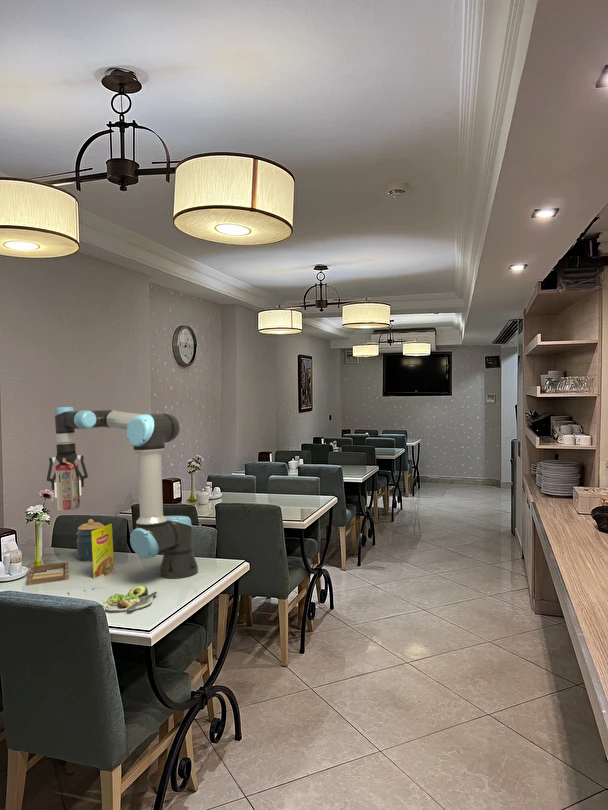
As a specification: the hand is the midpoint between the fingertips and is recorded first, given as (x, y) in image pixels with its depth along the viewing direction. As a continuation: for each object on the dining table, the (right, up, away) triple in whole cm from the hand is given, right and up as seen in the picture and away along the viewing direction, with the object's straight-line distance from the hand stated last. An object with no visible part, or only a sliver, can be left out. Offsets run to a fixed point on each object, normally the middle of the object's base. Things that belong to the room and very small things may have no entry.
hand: (68, 496), depth 251 cm
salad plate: (+40, -30, -47) cm, 69 cm away
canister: (+3, -31, +20) cm, 37 cm away
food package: (+19, -31, -12) cm, 38 cm away
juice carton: (0, -6, 0) cm, 6 cm away
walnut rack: (-3, -32, -12) cm, 34 cm away
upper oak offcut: (-1, -30, -18) cm, 35 cm away
